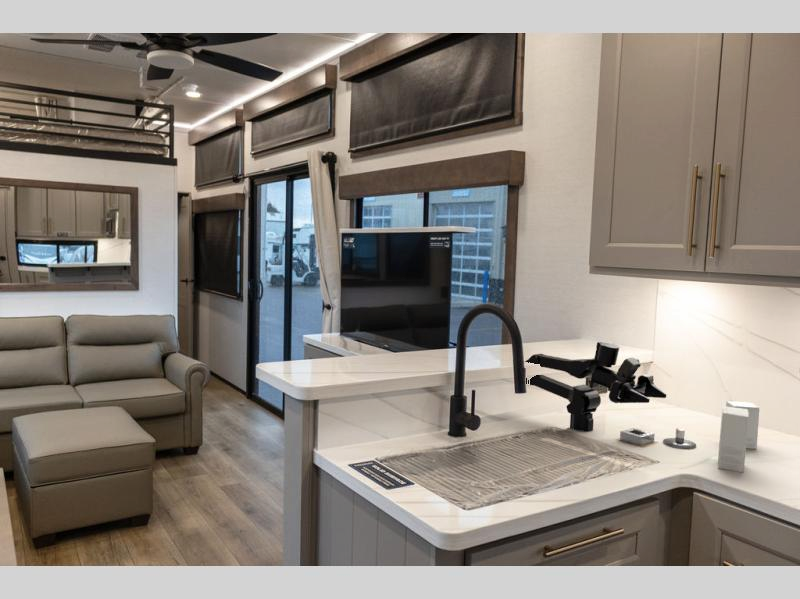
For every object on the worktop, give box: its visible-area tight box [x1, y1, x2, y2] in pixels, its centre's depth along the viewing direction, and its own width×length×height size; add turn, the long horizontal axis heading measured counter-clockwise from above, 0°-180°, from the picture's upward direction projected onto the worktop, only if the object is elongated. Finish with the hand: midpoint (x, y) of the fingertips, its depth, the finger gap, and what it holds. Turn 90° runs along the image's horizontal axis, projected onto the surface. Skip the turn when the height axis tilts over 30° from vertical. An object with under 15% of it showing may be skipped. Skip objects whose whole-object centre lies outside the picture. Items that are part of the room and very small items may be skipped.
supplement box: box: [725, 400, 760, 450], centre depth 192 cm, size 7×7×13 cm
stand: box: [615, 428, 660, 448], centre depth 190 cm, size 9×9×4 cm
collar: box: [619, 427, 655, 446], centre depth 190 cm, size 7×7×3 cm
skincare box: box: [717, 405, 749, 473], centre depth 172 cm, size 8×7×16 cm
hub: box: [662, 427, 697, 450], centre depth 188 cm, size 9×9×6 cm
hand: (657, 398), depth 182 cm, fingers open, 9 cm apart
